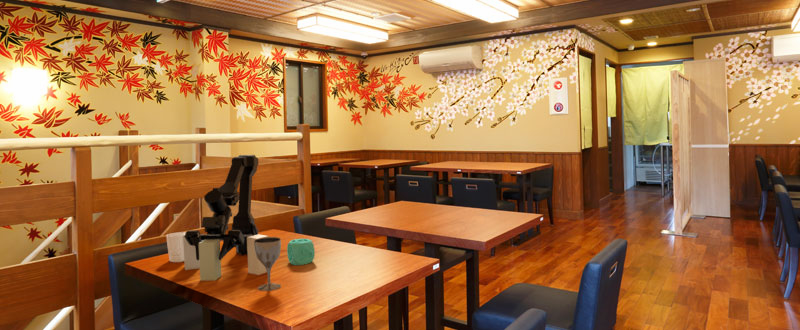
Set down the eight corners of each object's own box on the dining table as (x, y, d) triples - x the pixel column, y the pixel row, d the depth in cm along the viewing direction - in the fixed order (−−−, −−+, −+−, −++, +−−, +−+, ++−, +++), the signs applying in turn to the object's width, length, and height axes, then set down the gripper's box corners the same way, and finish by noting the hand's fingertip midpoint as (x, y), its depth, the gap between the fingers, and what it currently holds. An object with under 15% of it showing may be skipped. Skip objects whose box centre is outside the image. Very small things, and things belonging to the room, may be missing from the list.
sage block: (206, 275, 169) (205, 239, 168) (221, 275, 169) (219, 239, 168) (200, 280, 164) (198, 243, 163) (215, 280, 164) (213, 242, 163)
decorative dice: (315, 263, 183) (314, 241, 182) (293, 266, 179) (293, 244, 178) (308, 258, 190) (307, 237, 189) (287, 261, 186) (286, 240, 185)
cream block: (259, 269, 176) (258, 234, 175) (269, 271, 173) (268, 235, 172) (248, 272, 172) (246, 237, 171) (258, 275, 169) (257, 238, 168)
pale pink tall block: (199, 264, 183) (198, 231, 182) (200, 268, 179) (198, 233, 178) (184, 266, 181) (183, 232, 180) (184, 269, 177) (183, 235, 176)
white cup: (181, 263, 186) (180, 236, 185) (163, 262, 187) (161, 236, 187) (194, 257, 194) (193, 232, 193) (176, 257, 195) (175, 231, 194)
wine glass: (258, 283, 160) (256, 237, 158) (284, 282, 160) (282, 236, 159) (253, 291, 152) (251, 243, 150) (280, 290, 152) (278, 242, 151)
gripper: (185, 207, 169) (171, 247, 159) (240, 206, 168) (229, 246, 158) (196, 225, 177) (183, 264, 167) (248, 225, 177) (239, 264, 167)
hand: (208, 259), depth 165 cm, fingers open, 7 cm apart
